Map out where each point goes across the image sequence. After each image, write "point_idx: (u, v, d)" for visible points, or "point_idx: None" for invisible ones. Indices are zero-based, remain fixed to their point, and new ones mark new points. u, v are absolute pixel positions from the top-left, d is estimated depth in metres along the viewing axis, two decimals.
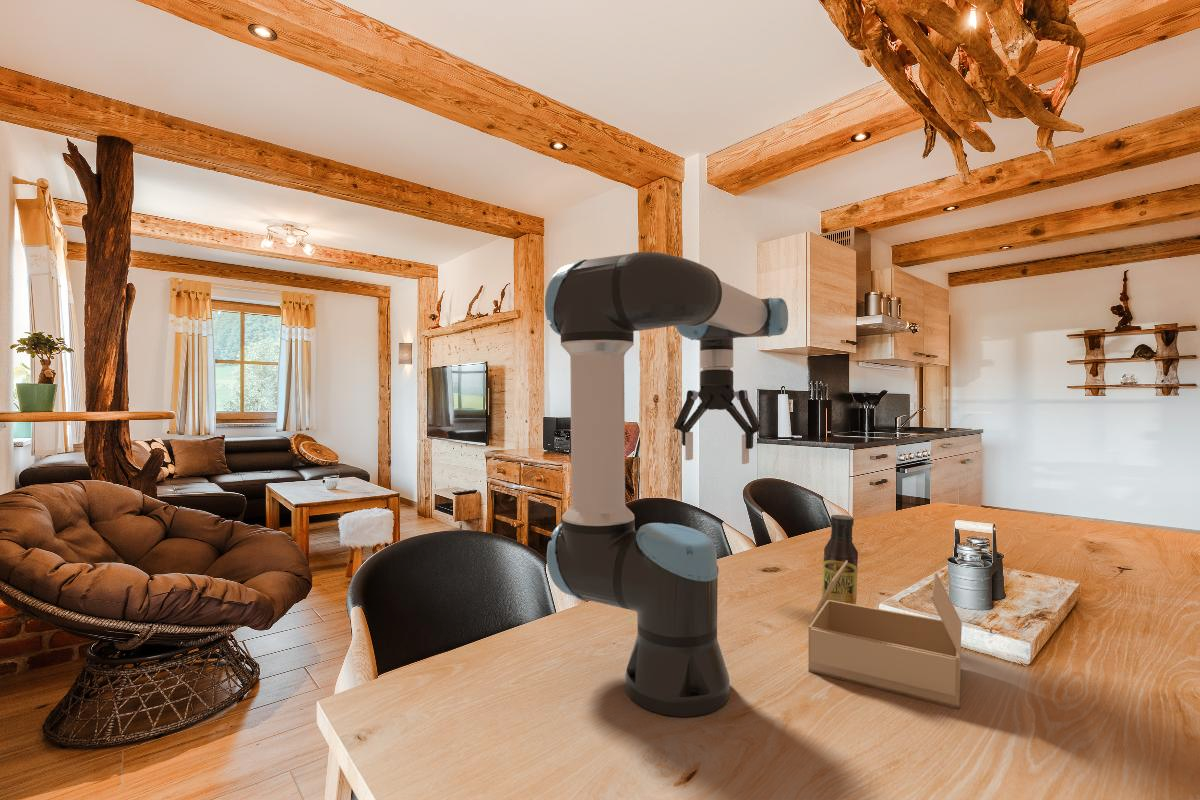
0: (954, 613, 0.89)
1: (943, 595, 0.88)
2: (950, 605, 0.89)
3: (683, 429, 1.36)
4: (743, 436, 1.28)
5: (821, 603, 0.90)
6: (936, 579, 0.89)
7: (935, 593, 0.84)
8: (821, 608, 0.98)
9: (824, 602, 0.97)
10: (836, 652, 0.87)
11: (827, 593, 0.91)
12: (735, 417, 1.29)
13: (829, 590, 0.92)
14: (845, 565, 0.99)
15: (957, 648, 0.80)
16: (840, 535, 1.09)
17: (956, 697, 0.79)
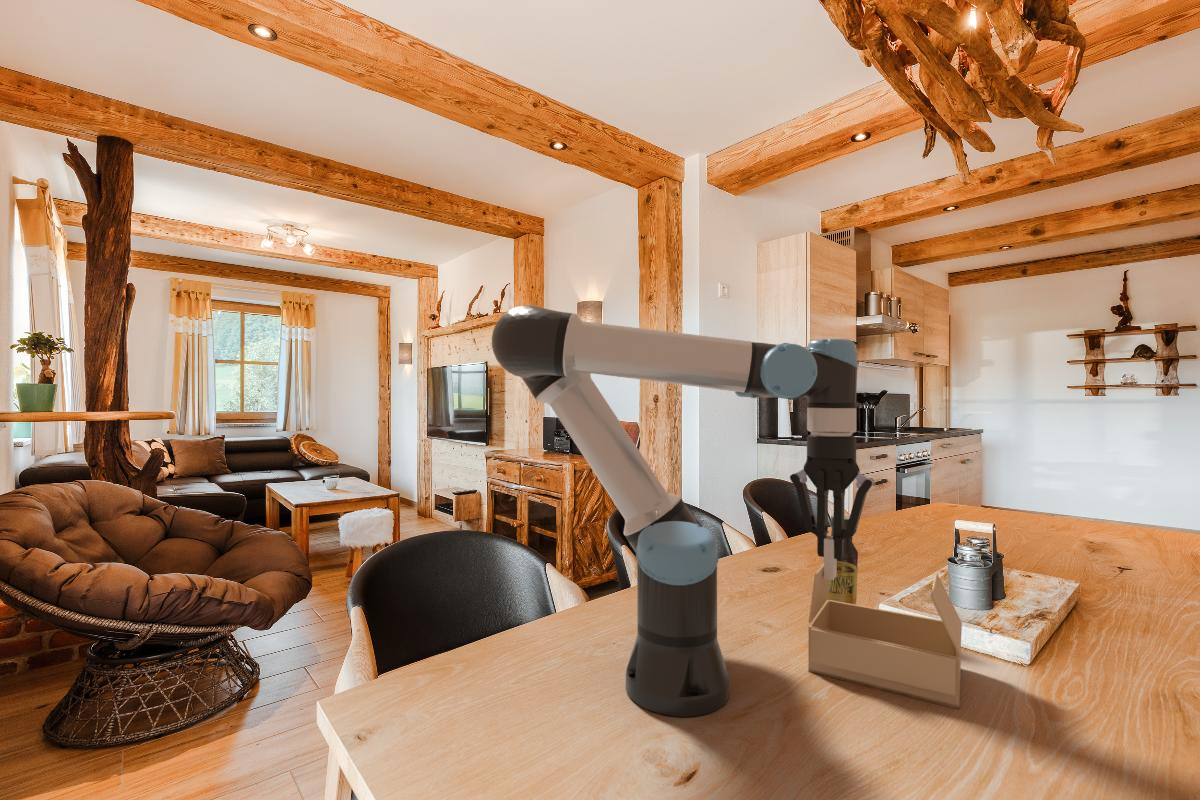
0: (954, 613, 0.89)
1: (943, 595, 0.88)
2: (950, 605, 0.89)
3: (820, 533, 0.94)
4: (831, 542, 0.93)
5: (814, 600, 0.91)
6: (936, 579, 0.89)
7: (935, 593, 0.84)
8: (821, 608, 0.98)
9: (823, 601, 0.98)
10: (836, 652, 0.87)
11: (817, 588, 0.92)
12: (836, 510, 0.93)
13: (819, 585, 0.93)
14: None
15: (957, 648, 0.80)
16: None
17: (956, 697, 0.79)
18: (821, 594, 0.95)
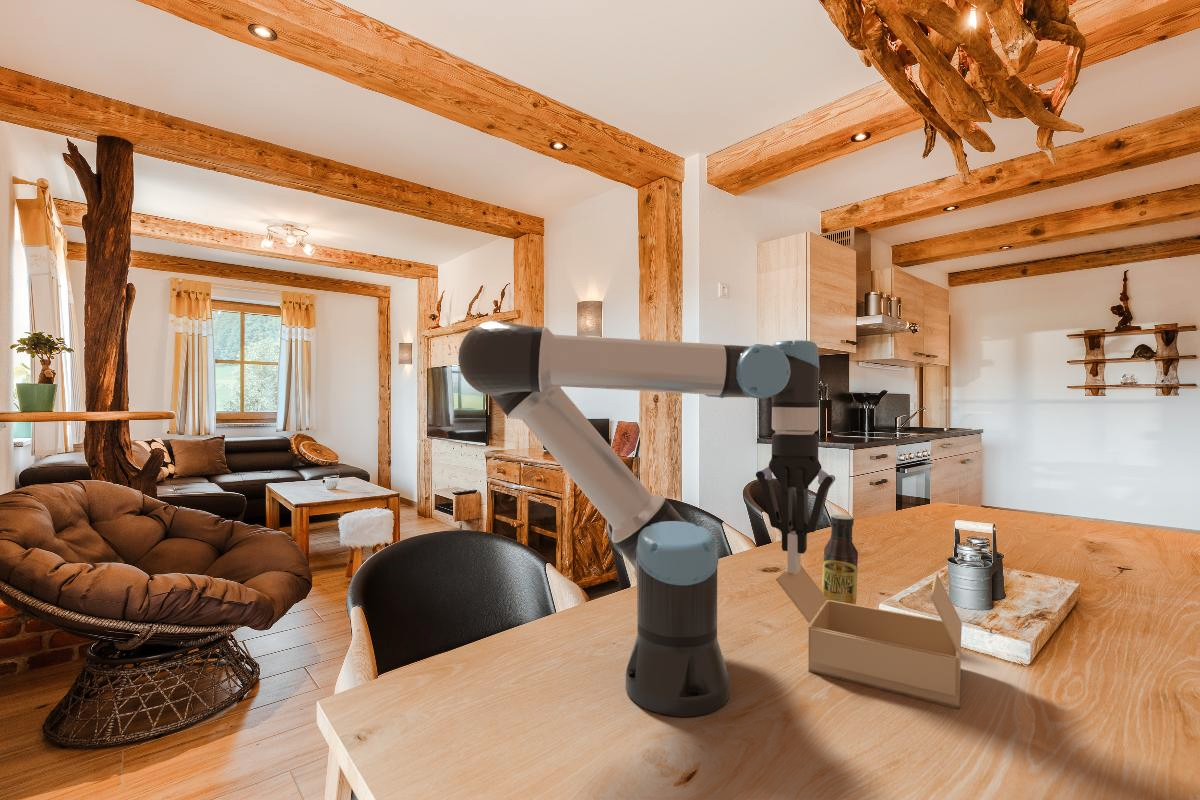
0: (954, 613, 0.89)
1: (943, 595, 0.88)
2: (950, 605, 0.89)
3: (784, 529, 0.97)
4: (794, 537, 0.96)
5: (796, 601, 0.92)
6: (936, 579, 0.89)
7: (935, 593, 0.84)
8: (821, 608, 0.98)
9: (818, 601, 0.98)
10: (836, 652, 0.87)
11: (793, 591, 0.94)
12: (799, 506, 0.96)
13: (794, 588, 0.95)
14: None
15: (957, 648, 0.80)
16: (840, 535, 1.09)
17: (956, 697, 0.79)
18: (807, 595, 0.97)
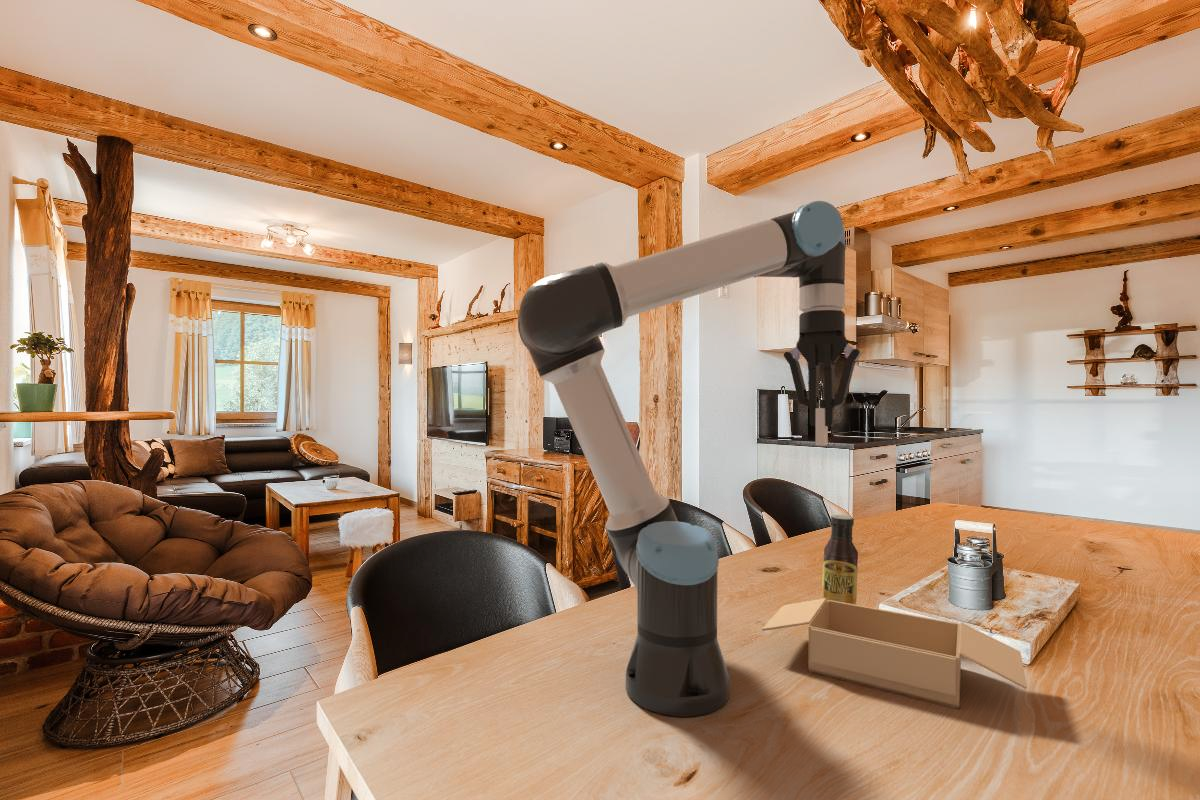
0: None
1: None
2: None
3: (812, 404, 1.02)
4: (822, 410, 1.01)
5: (788, 623, 0.93)
6: None
7: None
8: (821, 608, 0.98)
9: (816, 605, 0.98)
10: (836, 652, 0.87)
11: (784, 621, 0.95)
12: (827, 380, 1.00)
13: (785, 619, 0.96)
14: (785, 606, 1.04)
15: (964, 656, 0.79)
16: (840, 535, 1.09)
17: (956, 697, 0.79)
18: (802, 611, 0.97)
